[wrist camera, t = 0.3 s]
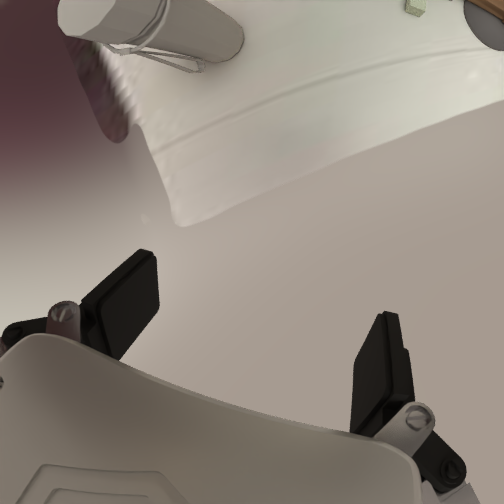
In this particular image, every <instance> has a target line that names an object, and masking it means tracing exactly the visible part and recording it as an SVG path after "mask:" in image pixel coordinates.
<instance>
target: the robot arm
mask: <svg viewBox="0 0 504 504" xmlns="http://www.w3.org/2000/svg"><path fill="white" fill-rule="evenodd" d="M81 302H82V303H81V304H80V305H79V306H78V305H77V303H74V302H72V301H62V302H59V303H57V304H55V305H54V306H52V307H51V309H50V310H49V312H48V317H43V318H38V319H32V320H27V321H20V322H16V323H12V324H10V325H9V326H8V327H7V328H6V329H5V330H4V331H3V334H2V337H0V504H480V502H479V500H478V498H477V496H476V494H475V493H474V490H473V488H472V487H471V485H470V483H468V484H466V482H465V477H466V473H467V472H466V465H465V463H464V461H463V460H462V459H461V457H460V456H459V455H458V454H457V453H456V452H454V451H453V450H452V449H451V448H450V447H449V446H448V445H447V444H446V443H445V442H444V441H443V440H442V439H441V438H440V437H439V436H438V435H437V434H436V433H435V432H434V431H433V428H434V426H435V416H434V414H433V412H432V410H431V409H430V408H429V407H428V406H426V405H425V404H423V403H420V402H415V395H414V386H413V378H412V371H411V363H410V357H409V352H408V350H407V349H405V348H404V347H403V340H402V334H401V328H400V322H399V317H398V314H396V313H392V312H387V311H384V312H383V313H382V314H378V315H377V317H376V319H375V321H374V323H373V325H372V327H371V329H370V331H369V334H368V335H367V338H366V340H365V342H364V343H363V346H362V347H361V349H360V351H359V353H358V355H357V357H356V359H355V362H354V370H353V371H354V372H353V392H352V408H351V421H350V433H349V432H344V431H338V430H333V429H328V428H323V427H318V426H314V425H309V424H305V423H300V422H296V421H291V420H287V419H283V418H279V417H275V416H271V415H267V414H263V413H260V412H256V411H253V410H249V409H246V408H242V407H239V406H236V405H232V404H229V403H226V402H223V401H220V400H217V399H214V398H211V397H208V396H205V395H202V394H199V393H196V392H193V391H190V390H188V389H185V388H182V387H180V386H177V385H174V384H172V383H169V382H167V381H164V380H162V379H159V378H157V377H154V376H152V375H149V374H147V373H145V372H142V371H140V370H138V369H135V368H133V367H131V366H128V365H126V364H124V363H122V362H120V361H119V360H120V359H121V358H122V356H123V355H124V354H125V352H126V351H127V350H128V349H129V347H130V346H131V345H132V343H133V342H134V341H135V340H136V338H137V337H138V336H139V334H140V333H141V332H142V331H143V329H144V328H145V327H146V326H147V324H148V323H149V322H150V321H151V319H152V318H153V317H154V316H155V314H156V313H157V312H158V310H159V306H160V304H159V303H160V302H159V290H158V275H157V259H156V257H155V256H154V254H153V252H151V251H148V250H144V249H139V250H137V251H136V252H135V253H134V254H133V255H132V256H131V257H129V258H128V259H127V260H126V261H124V262H123V263H122V264H121V265H120V266H119V267H118V268H116V269H115V270H114V271H113V272H112V273H111V274H110V275H108V276H107V277H106V278H105V279H104V280H103V281H102V282H101V283H99V284H98V285H97V286H96V287H95V288H94V289H93V290H92V291H91V292H90V293H88V294H87V295H86V296H85V297H84V298H83V299H82V300H81Z"/></svg>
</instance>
